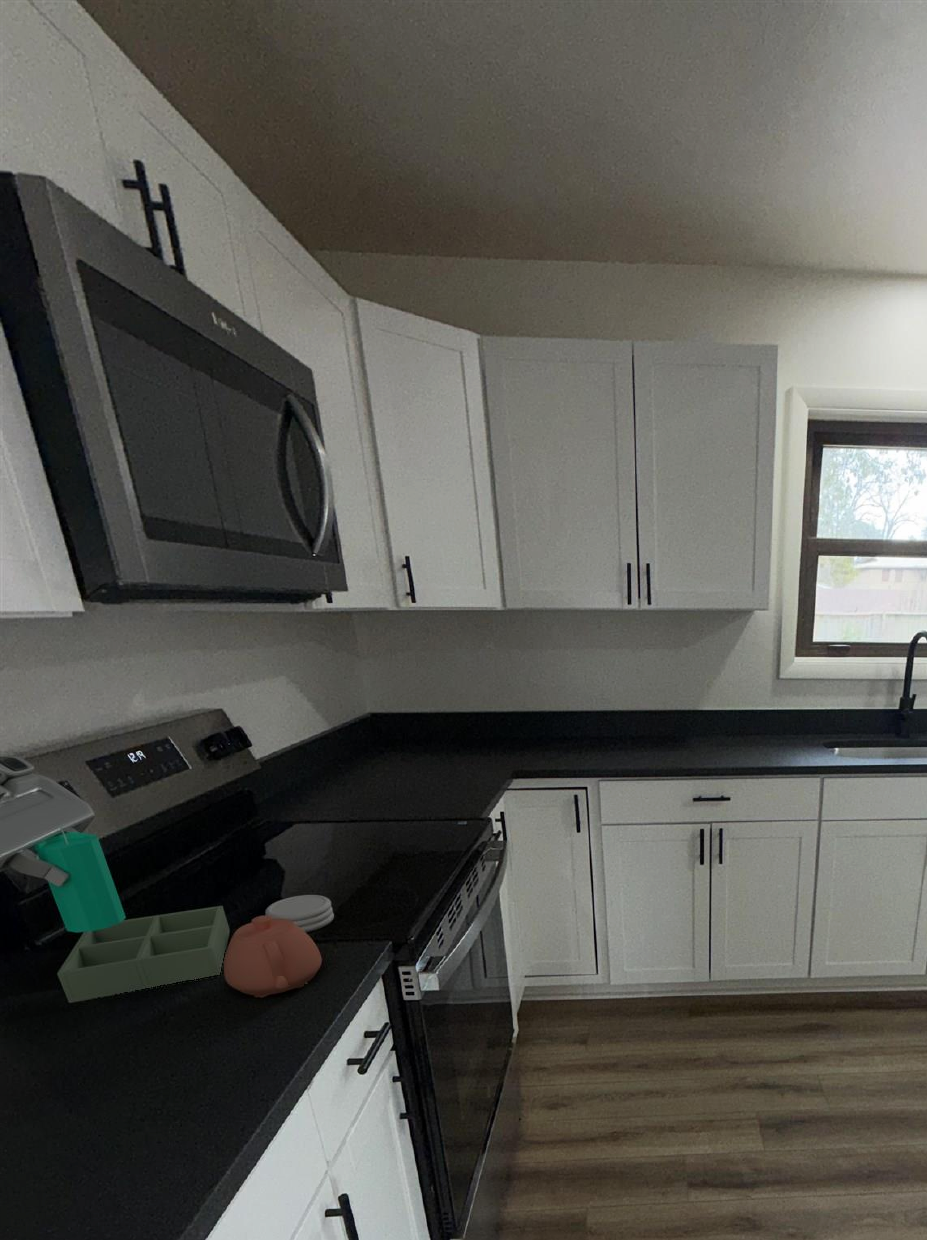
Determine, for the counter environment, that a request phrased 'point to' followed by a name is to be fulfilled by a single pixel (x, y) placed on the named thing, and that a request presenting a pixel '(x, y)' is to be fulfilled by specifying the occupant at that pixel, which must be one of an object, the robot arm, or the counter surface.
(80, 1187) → the counter surface
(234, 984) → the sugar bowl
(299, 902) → the grey round flat stack
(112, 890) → the candle
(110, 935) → the grid
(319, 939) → the counter surface
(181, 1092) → the counter surface
